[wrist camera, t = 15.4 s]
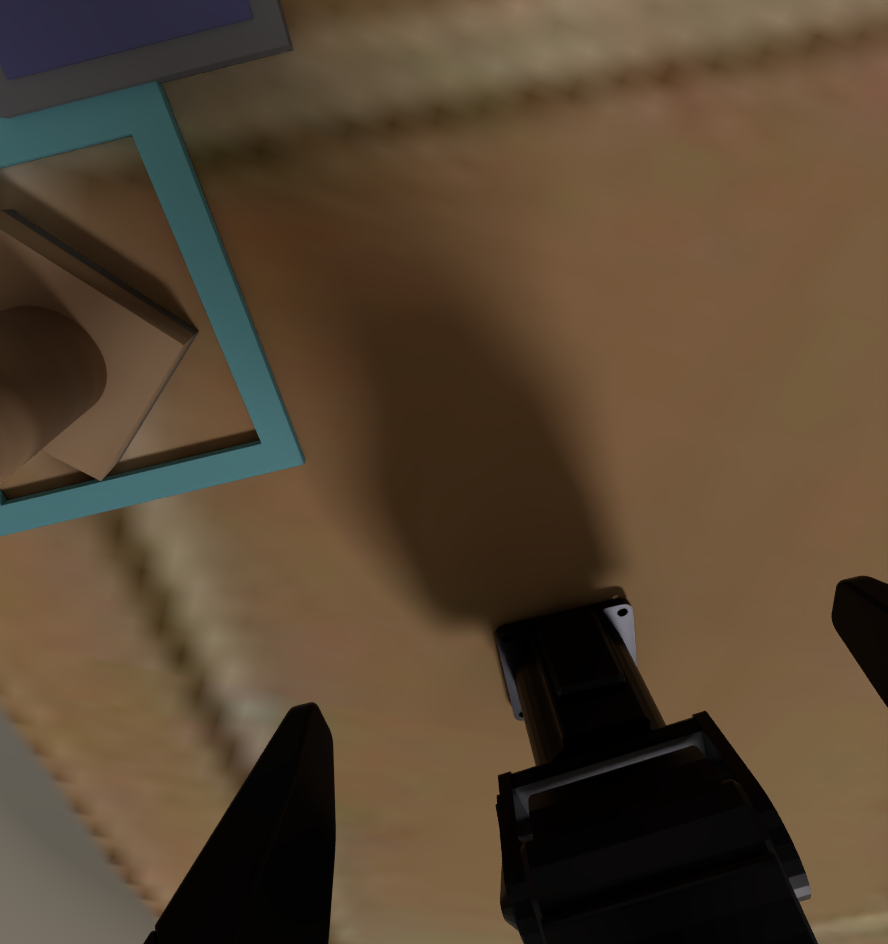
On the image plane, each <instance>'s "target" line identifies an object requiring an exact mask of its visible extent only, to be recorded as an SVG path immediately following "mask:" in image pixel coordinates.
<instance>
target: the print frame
mask: <svg viewBox="0 0 888 944" xmlns="http://www.w3.org/2000/svg"><path fill="white" fill-rule="evenodd" d="M128 136H132V137H133V139H134V141H135V144H136V146H137V149H138V151H139V153H140V156H141V158H142V160H143V163H144V165H145V168H146V170H147V172H148V175H149V177H150V179H151V182H152V184H153V187H154V189H155V191H156V194H157V196H158V198H159V201H160V203H161V206H162V208H163V210H164V213H165V215H166V218H167V220H168V222H169V225H170V227H171V229H172V232H173V234H174V237H175V239H176V241H177V244H178V246H179V248H180V251H181V253H182V256H183V258H184V260H185V263H186V265H187V267H188V270H189V272H190V275H191V277H192V279H193V282H194V284H195V286H196V289H197V291H198V294H199V296H200V298H201V301H202V303H203V306H204V308H205V310H206V313H207V315H208V317H209V320H210V322H211V325H212V327H213V329H214V332H215V334H216V336H217V339H218V341H219V344H220V346H221V348H222V351H223V353H224V355H225V358H226V360H227V363H228V365H229V367H230V370H231V372H232V375H233V377H234V379H235V382H236V384H237V386H238V389H239V391H240V394H241V396H242V398H243V401H244V403H245V405H246V408H247V410H248V413H249V415H250V417H251V420H252V422H253V424H254V427H255V429H256V432H257V434H258V436H259V439H260V440H258V441H254V442H250V443H246V444H241V445H237V446H233V447H229V448H225V449H220V450H216V451H212V452H208V453H204V454H199V455H195V456H191V457H187V458H183V459H178V460H174V461H170V462H166V463H162V464H157V465H153V466H149V467H145V468H141V469H136V470H132V471H128V472H124V473H120V474H115V475H111V476H107V477H104V478H103V479H102V481H100V480H98V479H94V480H90V481H86V482H82V483H78V484H73V485H69V486H65V487H61V488H57V489H52V490H48V491H44V492H40V493H36V494H31V495H27V496H23V497H19V498H15V499H10V500H7V499H6V498H5V496H4V495H3V493H2V492H1V491H0V536H3V535H8V534H12V533H16V532H20V531H24V530H29V529H33V528H37V527H41V526H46V525H50V524H54V523H58V522H62V521H67V520H71V519H75V518H79V517H84V516H88V515H92V514H96V513H100V512H105V511H109V510H113V509H117V508H122V507H126V506H130V505H134V504H139V503H143V502H147V501H151V500H155V499H160V498H164V497H168V496H172V495H177V494H181V493H185V492H189V491H193V490H198V489H202V488H206V487H210V486H215V485H219V484H223V483H227V482H231V481H236V480H240V479H244V478H248V477H253V476H257V475H261V474H265V473H269V472H274V471H278V470H282V469H286V468H291V467H295V466H299V465H303V464H304V463H305V457H304V455H303V452H302V449H301V447H300V444H299V442H298V439H297V436H296V434H295V431H294V429H293V426H292V423H291V421H290V418H289V415H288V413H287V410H286V408H285V405H284V402H283V400H282V397H281V395H280V392H279V389H278V387H277V384H276V382H275V379H274V376H273V374H272V371H271V369H270V366H269V363H268V361H267V358H266V355H265V353H264V350H263V348H262V345H261V342H260V340H259V337H258V335H257V332H256V329H255V327H254V324H253V322H252V319H251V316H250V314H249V311H248V308H247V306H246V303H245V301H244V298H243V295H242V293H241V290H240V288H239V285H238V282H237V280H236V277H235V275H234V272H233V269H232V267H231V264H230V262H229V259H228V256H227V254H226V251H225V248H224V246H223V243H222V241H221V238H220V235H219V233H218V230H217V228H216V225H215V222H214V220H213V217H212V215H211V212H210V209H209V207H208V204H207V201H206V199H205V196H204V194H203V191H202V188H201V186H200V183H199V181H198V178H197V175H196V173H195V170H194V168H193V165H192V162H191V160H190V157H189V154H188V152H187V149H186V147H185V144H184V141H183V139H182V136H181V134H180V131H179V128H178V126H177V123H176V121H175V118H174V115H173V113H172V110H171V108H170V105H169V102H168V100H167V97H166V94H165V92H164V89H163V87H162V84H161V83H159V82H157V81H155V82H151V83H148V84H144V85H140V86H136V87H132V88H128V89H124V90H120V91H116V92H112V93H108V94H104V95H100V96H96V97H92V98H88V99H84V100H80V101H76V102H72V103H68V104H64V105H60V106H56V107H53V108H49V109H45V110H41V111H37V112H33V113H29V114H25V115H21V116H17V117H13V118H9V119H7V118H0V169H1V168H5V167H9V166H13V165H17V164H21V163H25V162H29V161H33V160H37V159H41V158H45V157H49V156H53V155H57V154H61V153H65V152H69V151H73V150H77V149H81V148H85V147H89V146H93V145H96V144H100V143H104V142H108V141H112V140H116V139H120V138H124V137H128Z"/></svg>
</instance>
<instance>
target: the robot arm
mask: <svg viewBox="0 0 888 944" xmlns="http://www.w3.org/2000/svg"><path fill="white" fill-rule="evenodd" d="M622 608H623V609H622ZM620 609H622V610H620ZM619 610H620V611H619ZM832 622H833V625H834V627H835V629H836V631H837V633H838V634H839V636H840V637H841V639H842V640H843V642H844V643H845V645H846V646H847V648H848V649H849V651H850V652H851V654H852V655H853V657H854V658H855V660H856V661H857V663H858V664H859V666H860V667H861V669H862V670H863V672H864V673H865V675H866V676H867V678H868V679H869V681H870V682H871V684H872V685H873V687H874V688H875V690H876V691H877V693H878V694H879V696H880V697H881V699H882V700H883V701H884V703H885V704H886V706H887V707H888V584H887V583H884V582H882V581H879V580H877V579H874V578H872V577H869V576H857V577H853V578H849V579H844V580H841V581H840V582H839V583H838V584H837V586H836V591H835V597H834V603H833V609H832ZM505 635H509V636H506V637H503V636H505ZM495 636H496V641H497V645H498V649H499V653H500V658H501V662H502V666H503V670H504V675H505V679H506V683H507V688H508V692H509V696H510V700H511V705H512V709H513V713H514V717H515V718H516V719H517V720H520V721H525V725H526V729H527V733H528V737H529V741H530V745H531V749H532V753H533V757H534V760H535V764H536V766H535V767H531V768H528V769H525V770H522V771H519V772H515V773H511V771H510V772H507V773H504V774H501V775H498V782H499V793H500V795H497V804H496V811H497V816H498V822H499V829H500V840H501V851H502V870H501V891H500V905H501V910H502V914H503V917H504V919H505V921H506V922H508V923H509V924H510V925H511V926H513V927H514V928H515V929H516V930H518V931H519V933H520V936H521V938H522V941H523V943H524V944H818V943H817V940H816V938H815V936H814V934H813V932H812V929H811V927H810V925H809V923H808V921H807V918H806V916H805V914H804V912H803V910H802V907H801V905H800V903H799V902H800V901H804V900H807V899H810V897H811V891H810V885H809V882H808V879H807V876H806V873H805V870H804V867H803V865H802V862H801V860H800V857H799V855H798V853H797V851H796V848H795V846H794V844H793V842H792V840H791V838H790V836H789V834H788V832H787V830H786V828H785V826H784V824H783V822H782V820H781V818H780V816H779V815H778V813H777V811H776V809H775V807H774V806H773V804H772V803H771V801H770V799H769V798H768V796H767V794H766V793H765V791H764V790H763V788H762V787H761V785H760V784H759V783H758V781H757V780H756V779H755V777H754V776H753V774H752V773H751V772H750V770H749V769H748V768H747V766H746V765H745V763H744V762H743V761H742V759H741V758H740V757H739V755H738V754H737V753H736V751H735V750H734V748H733V747H732V746H731V744H730V743H729V742H728V740H727V739H726V738H725V736H724V735H723V733H722V732H721V731H720V729H719V728H718V727H717V725H716V724H715V723H714V721H713V720H712V718H711V717H710V716H709V714H708V713H707V712H706V711H703V712H700V713H696V714H693V715H692V718H689V719H686V720H682V721H679V722H676V723H673V724H670V725H666V724H665V722H664V720H663V718H662V716H661V714H660V712H659V710H658V708H657V706H656V704H655V702H654V700H653V698H652V696H651V694H650V692H649V690H648V688H647V686H646V684H645V682H644V680H643V678H642V676H641V674H640V672H639V670H638V668H637V664H636V648H635V633H634V617H633V609H632V606H631V604H630V603H629V601H628V600H626V599H623V598H622V599H615V600H611V601H607V602H602V603H598V604H594V605H589V606H585V607H580V608H576V609H572V610H567V611H563V612H559V613H554V614H550V615H546V616H541V617H537V618H532V619H528V620H524V621H519V622H515V623H511V624H506V625H503V626H500V627H499V628H498V629H497V630H496V632H495ZM335 843H336V821H335V788H334V755H333V739H332V735H331V731H330V729H329V727H328V725H327V723H326V721H325V719H324V717H323V715H322V713H321V711H320V709H319V707H318V706H317V704H315V703H314V702H310V703H306V704H302V705H297V706H294V707H292V708H291V709H290V710H289V711H288V713H287V714H286V716H285V717H284V719H283V721H282V722H281V724H280V725H279V727H278V729H277V730H276V732H275V733H274V735H273V737H272V738H271V740H270V741H269V743H268V745H267V746H266V748H265V749H264V751H263V753H262V754H261V756H260V758H259V759H258V761H257V762H256V764H255V766H254V767H253V769H252V770H251V772H250V774H249V775H248V777H247V778H246V780H245V782H244V783H243V785H242V786H241V788H240V790H239V791H238V793H237V794H236V796H235V798H234V799H233V801H232V802H231V804H230V806H229V807H228V809H227V811H226V812H225V814H224V815H223V817H222V819H221V820H220V822H219V823H218V825H217V827H216V828H215V830H214V831H213V833H212V835H211V836H210V838H209V839H208V841H207V843H206V844H205V846H204V847H203V849H202V851H201V852H200V854H199V856H198V857H197V859H196V860H195V862H194V864H193V865H192V867H191V868H190V870H189V872H188V873H187V875H186V876H185V878H184V880H183V881H182V883H181V884H180V886H179V888H178V889H177V891H176V892H175V894H174V896H173V897H172V899H171V901H170V902H169V904H168V905H167V907H166V909H165V910H164V912H163V913H162V915H161V917H160V918H159V920H158V921H157V923H156V925H155V931H152V932H151V933H150V934H149V936H148V937H147V939H146V940H145V942H144V944H328V942H329V929H330V915H331V901H332V888H333V874H334V860H335Z"/></svg>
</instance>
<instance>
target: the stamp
mask: <svg viewBox="0 0 888 944" xmlns="http://www.w3.org/2000/svg"><path fill="white" fill-rule="evenodd" d="M198 332H199V331H198V330H197V329H195V328H194V327H192V326H190V325H189V324H187V323H186V322H184V321H183V320H181V319H180V318H178V317H177V316H175V315H173V314H172V313H170V312H169V311H167V310H166V309H164V308H163V307H161V306H160V305H158V304H157V303H155V302H153V301H152V300H150V299H149V298H147V297H146V296H144V295H143V294H141V293H140V292H138V291H137V290H135V289H133V288H132V287H130V286H129V285H127V284H126V283H124V282H123V281H121V280H120V279H118V278H116V277H115V276H113V275H112V274H110V273H109V272H107V271H106V270H104V269H103V268H101V267H100V266H98V265H96V264H95V263H93V262H92V261H90V260H89V259H87V258H86V257H84V256H83V255H81V254H80V253H78V252H76V251H75V250H73V249H72V248H70V247H69V246H67V245H66V244H64V243H63V242H61V241H60V240H58V239H56V238H55V237H53V236H52V235H50V234H49V233H47V232H46V231H44V230H43V229H41V228H39V227H38V226H36V225H35V224H33V223H32V222H30V221H29V220H27V219H26V218H24V217H23V216H21V215H19V214H18V213H16V212H15V211H13V210H12V209H10V210H2V211H0V484H1V483H2V482H3V481H4V480H6V479H7V478H8V477H9V476H10V475H12V474H13V473H14V472H15V471H16V470H18V469H19V468H20V467H21V466H22V465H23V464H25V463H26V462H27V461H28V460H29V459H31V458H32V457H33V456H34V455H35V454H37V453H38V452H39V451H40V450H41V451H43V452H45V453H47V454H49V455H51V456H53V457H54V458H56V459H58V460H60V461H62V462H64V463H66V464H68V465H70V466H72V467H74V468H76V469H78V470H80V471H82V472H84V473H86V474H88V475H90V476H92V477H94V478H96V479H98V480H100V481H102V479H103V478H104V477H105V476H106V475H107V474H108V473H109V472H110V470H111V469H112V468H113V467H114V466H115V465H116V464H117V463H118V461H119V460H120V459H121V458H122V456H123V454H124V453H125V451H126V449H127V448H128V446H129V445H130V443H131V441H132V440H133V438H134V436H135V435H136V433H137V431H138V430H139V428H140V427H141V425H142V423H143V422H144V420H145V418H146V417H147V415H148V414H149V412H150V410H151V409H152V407H153V405H154V404H155V402H156V400H157V399H158V397H159V396H160V394H161V392H162V391H163V389H164V387H165V386H166V384H167V382H168V381H169V379H170V378H171V376H172V374H173V373H174V371H175V369H176V368H177V366H178V365H179V363H180V361H181V360H182V358H183V356H184V355H185V353H186V351H187V350H188V348H189V347H190V345H191V343H192V342H193V340H194V338H195V337H196V335H197V333H198Z"/></svg>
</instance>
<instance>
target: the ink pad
mask: <svg viewBox="0 0 888 944" xmlns="http://www.w3.org/2000/svg"><path fill="white" fill-rule="evenodd" d="M290 50H293V47H292V44H291V40H290V36H289V33H288V29H287V26H286V22H285V19H284V15H283V12H282V8H281V4H280V1H279V0H0V118H7V119H9V118H13V117H17V116H21V115H25V114H29V113H33V112H37V111H41V110H45V109H49V108H53V107H56V106H60V105H64V104H68V103H72V102H76V101H80V100H84V99H88V98H92V97H96V96H100V95H104V94H108V93H112V92H116V91H120V90H124V89H128V88H132V87H136V86H140V85H144V84H148V83H151V82H155V81H157V82H159V83H164V82H168V81H172V80H176V79H179V78H183V77H187V76H191V75H195V74H199V73H203V72H207V71H211V70H215V69H219V68H223V67H227V66H231V65H235V64H239V63H243V62H247V61H251V60H255V59H259V58H263V57H267V56H271V55H275V54H279V53H282V52H286V51H290Z"/></svg>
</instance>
